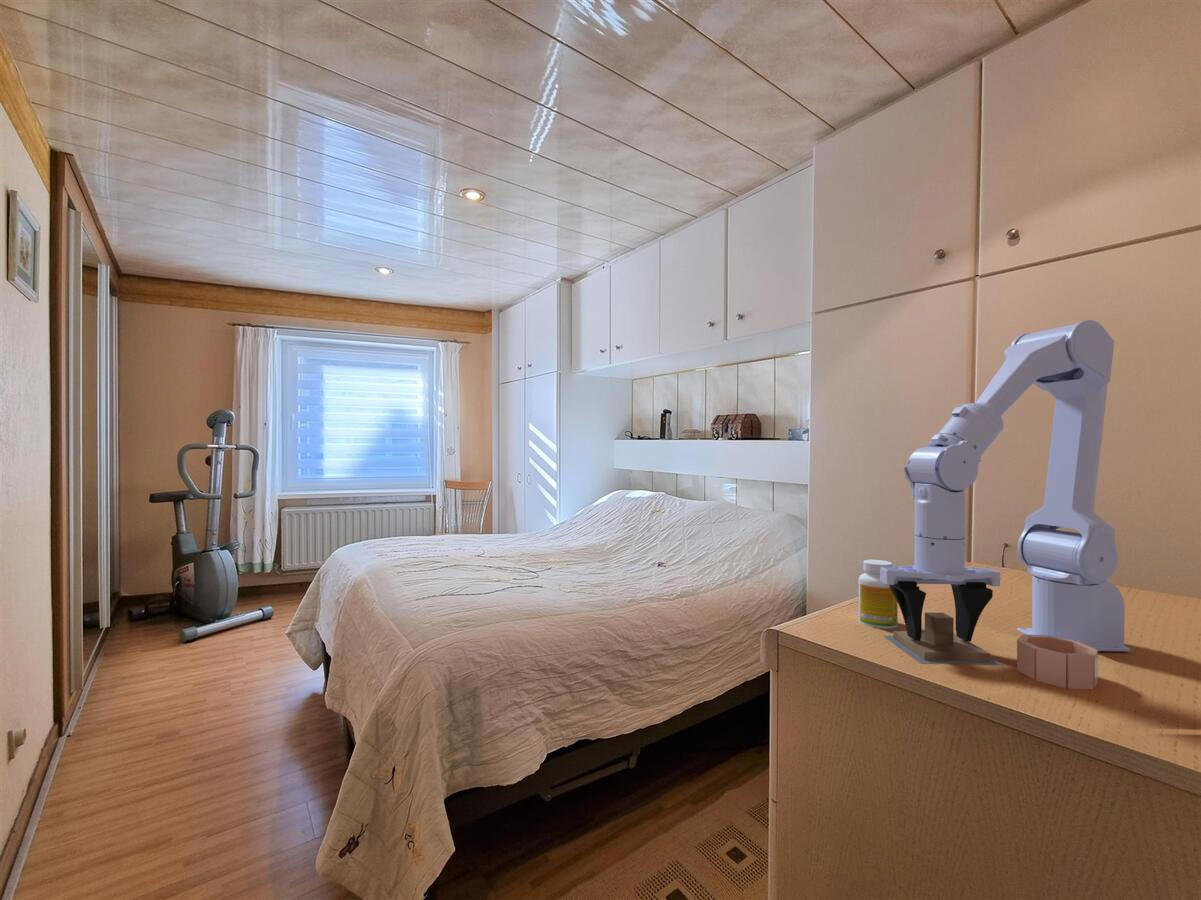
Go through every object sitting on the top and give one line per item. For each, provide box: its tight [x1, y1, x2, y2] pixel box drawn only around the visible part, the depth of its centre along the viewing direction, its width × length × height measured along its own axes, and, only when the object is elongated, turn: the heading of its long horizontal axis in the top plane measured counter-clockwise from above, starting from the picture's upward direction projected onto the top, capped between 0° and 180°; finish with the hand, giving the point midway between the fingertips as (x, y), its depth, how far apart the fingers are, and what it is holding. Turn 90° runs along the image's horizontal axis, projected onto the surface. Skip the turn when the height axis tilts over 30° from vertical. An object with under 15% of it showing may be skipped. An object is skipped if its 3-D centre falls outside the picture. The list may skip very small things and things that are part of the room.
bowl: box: [1016, 634, 1099, 690], centre depth 64 cm, size 7×7×4 cm
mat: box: [883, 635, 1004, 666], centre depth 73 cm, size 10×10×1 cm
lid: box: [892, 612, 991, 661], centre depth 73 cm, size 8×8×4 cm
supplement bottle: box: [857, 559, 899, 629], centre depth 84 cm, size 5×5×10 cm
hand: (938, 638), depth 73 cm, fingers open, 6 cm apart
